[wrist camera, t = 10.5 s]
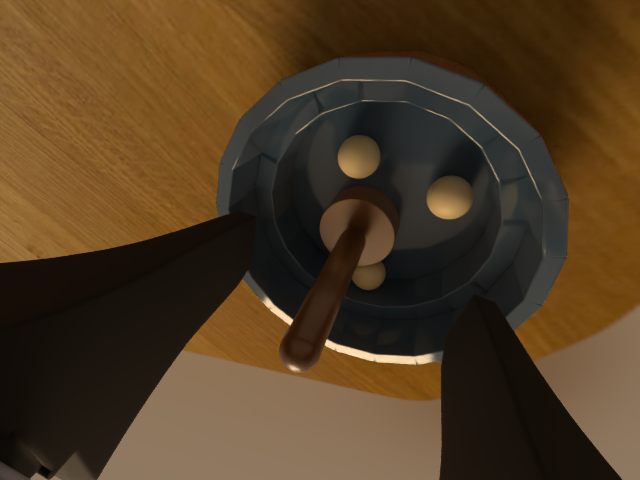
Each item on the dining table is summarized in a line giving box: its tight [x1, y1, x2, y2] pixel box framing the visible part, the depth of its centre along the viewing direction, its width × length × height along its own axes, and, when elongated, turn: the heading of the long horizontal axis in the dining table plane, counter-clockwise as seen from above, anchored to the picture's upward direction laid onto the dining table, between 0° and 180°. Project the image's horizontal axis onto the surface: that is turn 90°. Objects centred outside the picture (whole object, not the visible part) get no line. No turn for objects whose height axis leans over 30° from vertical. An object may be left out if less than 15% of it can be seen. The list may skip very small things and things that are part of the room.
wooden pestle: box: [279, 186, 399, 373], centre depth 12 cm, size 4×4×9 cm
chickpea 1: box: [338, 135, 380, 179], centre depth 13 cm, size 2×2×2 cm
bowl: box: [216, 51, 569, 365], centre depth 13 cm, size 12×12×5 cm
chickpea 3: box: [427, 175, 474, 219], centre depth 13 cm, size 2×2×2 cm
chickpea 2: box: [352, 261, 386, 290], centre depth 16 cm, size 2×2×2 cm
